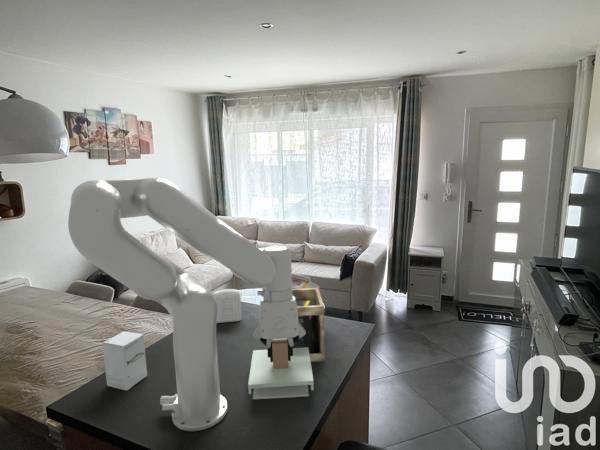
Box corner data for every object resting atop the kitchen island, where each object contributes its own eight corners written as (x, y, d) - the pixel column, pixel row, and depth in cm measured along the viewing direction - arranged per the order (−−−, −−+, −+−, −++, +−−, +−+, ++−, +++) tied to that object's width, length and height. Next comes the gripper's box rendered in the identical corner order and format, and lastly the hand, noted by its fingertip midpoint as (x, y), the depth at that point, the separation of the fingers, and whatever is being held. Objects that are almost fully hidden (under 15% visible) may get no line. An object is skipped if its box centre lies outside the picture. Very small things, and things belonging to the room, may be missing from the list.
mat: (252, 399, 89) (252, 397, 89) (256, 368, 103) (256, 367, 103) (308, 396, 90) (308, 394, 90) (305, 365, 104) (305, 364, 104)
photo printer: (241, 316, 139) (239, 286, 137) (242, 321, 135) (240, 290, 133) (214, 319, 137) (212, 288, 135) (213, 324, 133) (211, 292, 131)
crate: (277, 363, 105) (275, 308, 103) (277, 337, 121) (276, 289, 118) (324, 361, 106) (324, 306, 103) (319, 336, 122) (318, 288, 119)
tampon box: (311, 359, 107) (310, 312, 105) (281, 356, 109) (279, 311, 107) (316, 341, 118) (316, 299, 116) (289, 339, 120) (288, 297, 117)
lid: (248, 394, 88) (246, 358, 86) (253, 358, 104) (251, 327, 102) (313, 390, 88) (312, 354, 87) (308, 355, 105) (307, 324, 103)
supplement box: (127, 391, 94) (122, 346, 92) (106, 386, 96) (101, 342, 94) (148, 376, 100) (144, 333, 98) (128, 371, 103) (123, 330, 101)
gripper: (243, 300, 88) (247, 368, 91) (311, 297, 89) (313, 364, 92) (246, 289, 96) (250, 353, 99) (308, 287, 97) (310, 350, 100)
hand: (280, 358), depth 95 cm, fingers closed on lid, 4 cm apart
